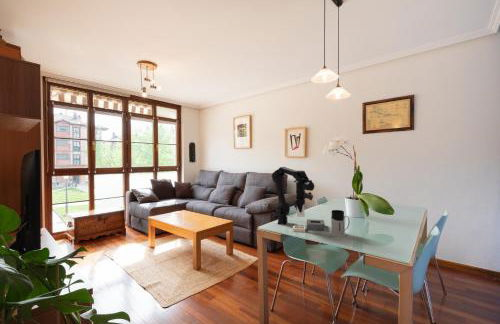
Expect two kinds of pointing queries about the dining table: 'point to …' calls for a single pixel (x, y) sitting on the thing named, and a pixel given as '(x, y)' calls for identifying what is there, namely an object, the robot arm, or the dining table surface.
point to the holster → (299, 228)
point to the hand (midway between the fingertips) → (300, 211)
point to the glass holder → (338, 223)
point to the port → (315, 224)
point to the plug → (301, 212)
